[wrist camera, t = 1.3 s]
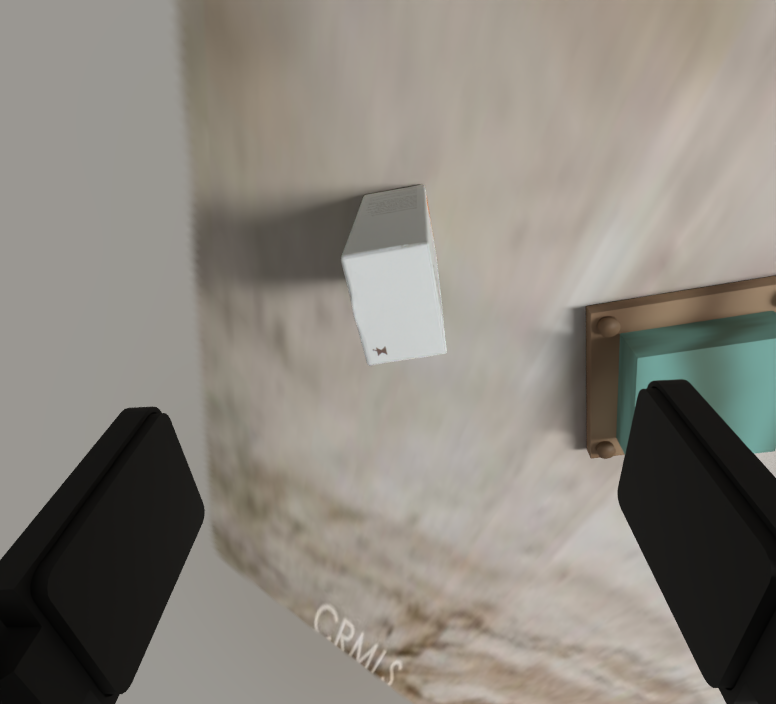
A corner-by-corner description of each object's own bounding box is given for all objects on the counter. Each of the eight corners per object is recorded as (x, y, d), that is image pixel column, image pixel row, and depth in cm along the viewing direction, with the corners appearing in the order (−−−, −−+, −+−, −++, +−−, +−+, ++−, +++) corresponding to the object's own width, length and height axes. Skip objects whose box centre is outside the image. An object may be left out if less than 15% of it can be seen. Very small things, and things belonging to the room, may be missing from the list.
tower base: (799, 271, 33) (849, 300, 29) (762, 428, 40) (799, 467, 36) (585, 306, 35) (606, 336, 31) (586, 448, 42) (603, 488, 38)
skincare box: (439, 267, 34) (449, 358, 24) (380, 277, 35) (365, 369, 25) (426, 179, 31) (430, 241, 21) (361, 191, 32) (335, 257, 22)
